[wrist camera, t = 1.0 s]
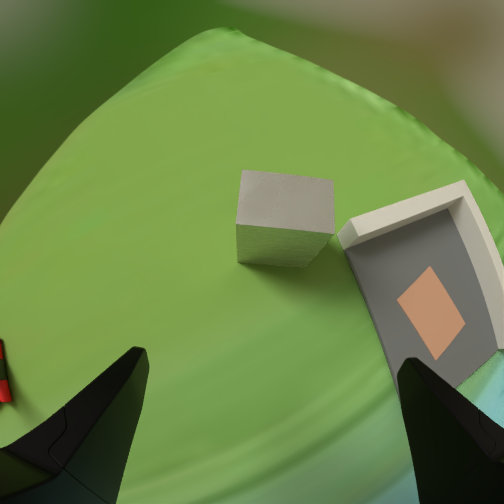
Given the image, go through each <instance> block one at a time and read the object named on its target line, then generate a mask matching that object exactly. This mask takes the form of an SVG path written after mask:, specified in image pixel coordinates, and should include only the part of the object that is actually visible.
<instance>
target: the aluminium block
mask: <svg viewBox="0 0 504 504" xmlns="http://www.w3.org/2000/svg"><path fill="white" fill-rule="evenodd" d="M334 234H335V220H334V189H333V180H329V179H322V178H314V177H306V176H298V175H290V174H281V173H272V172H262V171H251V170H242V176H241V184H240V193H239V201H238V210H237V219H236V241H237V262H241V263H252V264H263V265H274V266H286V267H297V268H306V267H307V266H308V265H309V263H310V262H311V261H312V260H313V259H314V258H315V257H316V255H317V254H318V253H319V252H320V251H321V250H322V248H323V247H324V246H325V245H326V244H327V242H328V241H329V240H330V239H331V238H332V237H333V235H334Z"/></svg>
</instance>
